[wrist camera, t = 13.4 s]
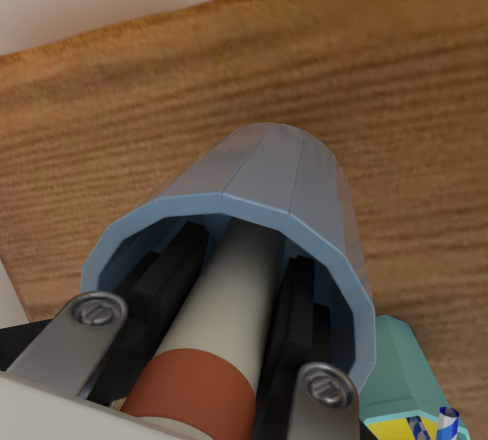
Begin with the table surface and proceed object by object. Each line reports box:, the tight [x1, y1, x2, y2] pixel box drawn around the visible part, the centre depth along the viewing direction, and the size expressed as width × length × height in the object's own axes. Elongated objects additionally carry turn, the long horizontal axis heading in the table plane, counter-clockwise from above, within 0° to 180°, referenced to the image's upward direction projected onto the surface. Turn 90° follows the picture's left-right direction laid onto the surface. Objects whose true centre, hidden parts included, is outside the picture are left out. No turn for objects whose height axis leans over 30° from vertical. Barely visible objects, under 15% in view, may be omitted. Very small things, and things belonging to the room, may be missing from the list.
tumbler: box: [80, 122, 377, 396], centre depth 14 cm, size 8×8×10 cm
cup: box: [358, 314, 471, 440], centre depth 25 cm, size 14×8×15 cm, turn 3°
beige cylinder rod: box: [120, 217, 287, 440], centre depth 12 cm, size 2×2×14 cm
